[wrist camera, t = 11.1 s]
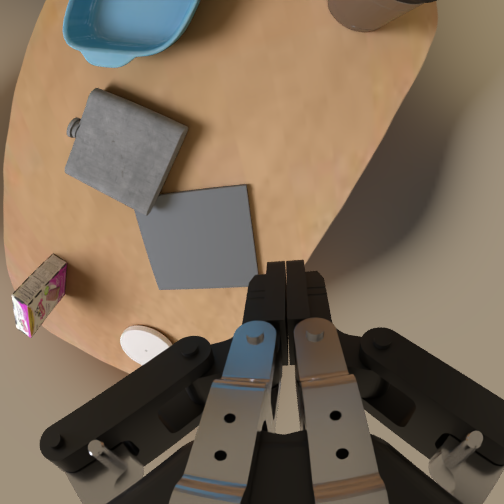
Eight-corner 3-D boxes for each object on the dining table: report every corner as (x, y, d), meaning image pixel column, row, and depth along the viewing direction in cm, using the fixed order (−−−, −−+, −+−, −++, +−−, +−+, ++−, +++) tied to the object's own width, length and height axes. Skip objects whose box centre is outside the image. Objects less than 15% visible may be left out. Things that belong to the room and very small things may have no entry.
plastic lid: (187, 357, 69) (184, 365, 67) (145, 364, 73) (142, 371, 71) (155, 317, 63) (151, 324, 61) (113, 327, 67) (109, 334, 65)
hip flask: (144, 218, 46) (53, 170, 42) (152, 210, 49) (65, 165, 46) (184, 127, 39) (81, 83, 36) (191, 126, 43) (93, 84, 39)
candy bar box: (66, 295, 63) (31, 339, 49) (51, 285, 62) (15, 328, 48) (68, 261, 58) (27, 306, 43) (52, 252, 57) (9, 294, 43)
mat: (133, 198, 49) (131, 200, 48) (246, 184, 46) (245, 185, 46) (160, 287, 58) (159, 289, 58) (259, 283, 56) (259, 286, 55)
